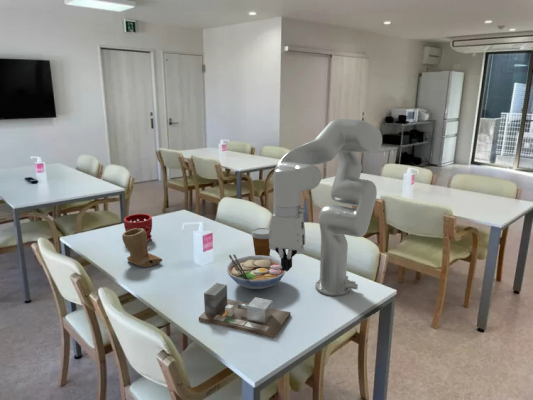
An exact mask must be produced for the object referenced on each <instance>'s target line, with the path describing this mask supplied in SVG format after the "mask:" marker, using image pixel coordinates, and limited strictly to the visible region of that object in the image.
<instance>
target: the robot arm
mask: <svg viewBox="0 0 533 400" xmlns="http://www.w3.org/2000/svg"><path fill="white" fill-rule="evenodd" d="M382 144H383V136H382V133H381V131H380V130H379V129H378V128H377V126H376V127H375V125H373V124H370V122H367V121H365V120H362V119H346V118H338V119H333V120H332V121H330V122H329V123H328V124H327V125H326V126H325V127H324V128H323V129H322V131H320V132H319V134H318V135H317V136H316V137H315V138H314V139H313V140H312V141H309V142H307V143H304V144H302V145H299V146H297V147H294V148H293V149H291V150H289V151H288V152H287V153H286V154H285V155H283V157H282V158H281V159H280V160H279V161H278V162H277V164H276V166H275V168H274V171H273V213H272V214H271V217H270V221H269V222H270V223H269V228H268V229H269V244H270V245H269V248H270V250H272V251H275V252H276V253H277V255H279V256H278V257H279V259H280V260H281V267H282V271H286V272H289V271H290V269H291V268H292V267H293V257H294V256H296V255H301V254H304V252H305V250H306V249H305V246H304V245H306V230H305V220H304V215H303V214H304V213H305V208H303V207H301V191H303V192H304V191H310V190H314V189H315V188H317V187H318V186H319V185H320V183H321V181H322V172H321V169H320V168H319V167H318V166H317V165H320V164H325V163H329V162H330V161H332V160H333V159H335V158H336V156H337V158H338V165H337V170H336V173H335V175H334V176H335V177H334V179H333V183H332V187H331V190H330V197H331V199H332V200H333V201H334V202H337V203H339V204H343V205H348V206H349V205H350V206H355V207H356V208H354V207H348V206H342V205H337V204H328V205H325V206H323V207H322V208H321V210H320V211H319V214H318V223H319V224H318V225H319V228H320V229H319V230H320V261H319V263H320V264H319V280H317V281H316V282H315V285H314V286H315V289H316V291H317V292H319V293H321V294H322V295H325V296H332V297H338V296H339V297H340V296H343V295H344V296H345V295H346V294H347V293H349V291H350V290H351V289H353V290H358V287H359V284H358V283H356V281H355V280H354V281H353V280H350V279H349V276H348V275H347V266H348V263H347V262H348V250H349V249H348V245H349V244H348V240H347V238H346V236H349V237H355V238H362V237H364V236H365V235H366V234H367V232H368V229H369V226H370V223H371V218H372V215H373V213H374V207H375V205H376V202H377V201H376V200H377V193H378V191H377V190H378V189H377V185H376V183H375V182H374V181H372V180H368V179H365V178H363V179H362V178H361V173H362V171H363V166H362V162H361V161H360V159H359V157H358V154H357V153H368V154H374V153H376V152H378V151H380V148H381V146H382Z"/></svg>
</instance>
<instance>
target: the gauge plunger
mask: <svg viewBox="0 0 533 400" xmlns="http://www.w3.org/2000/svg"><path fill="white" fill-rule="evenodd" d="M273 302H274V301H273V300H271V299H265V298H263V297H262V298H261V297H256V296H255V297H254V298H253V299H252V300H251V301H250V302H248V303H249V305H245V304H240V303H239V304H238V308H239V309H244V310H247V316H248V320H249V321H253V322H258V323H262V324H266V323H267V321H268V320H269V319H270V317H271V316H272V315H273V309H274V308H273V307H274V306H273Z"/></svg>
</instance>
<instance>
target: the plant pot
mask: <svg viewBox="0 0 533 400" xmlns="http://www.w3.org/2000/svg"><path fill="white" fill-rule="evenodd" d="M123 225H124V227H123V228H124V230H125V231H124V232H126V231H128V230H131V229H135V228H140V229H142V228H143V229H144V230H145V231H146V234H147V239H148V242H149V241H150V240H151V239H152V237H153V236H152V229H153V217H152V215H150V214H148V213H135V214H129V215H127V216H125V217H124V218H123Z"/></svg>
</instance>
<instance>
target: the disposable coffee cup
mask: <svg viewBox="0 0 533 400" xmlns="http://www.w3.org/2000/svg"><path fill="white" fill-rule="evenodd" d="M251 236H252V241H253V242H252V243H253V248H254V256H257V255H262V256H270V255H271V249H270V248H269V245H270V244H269V228H268V227H258V228H254V229H253V230H252V232H251Z"/></svg>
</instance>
